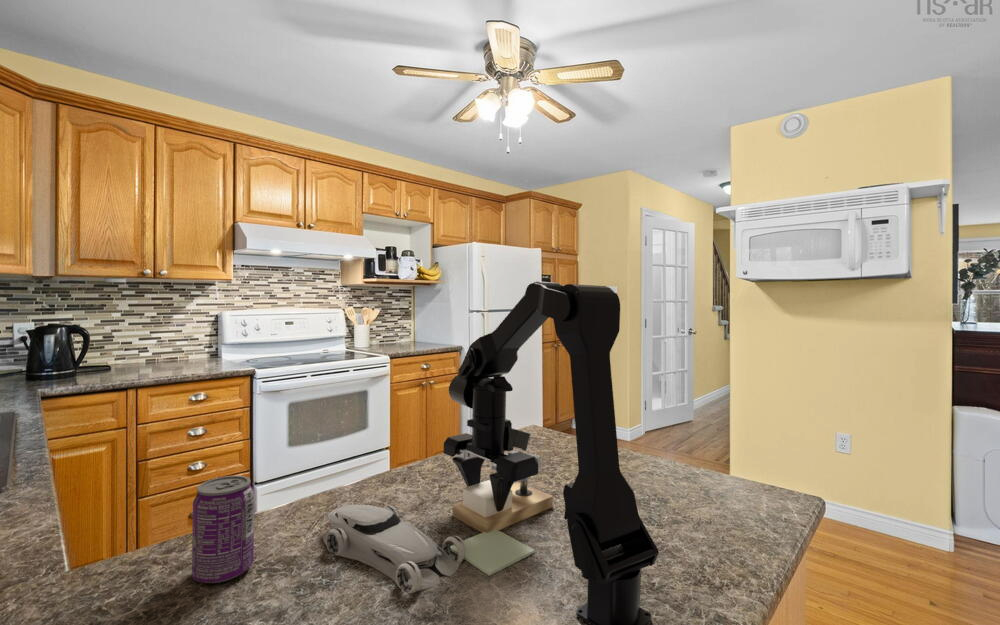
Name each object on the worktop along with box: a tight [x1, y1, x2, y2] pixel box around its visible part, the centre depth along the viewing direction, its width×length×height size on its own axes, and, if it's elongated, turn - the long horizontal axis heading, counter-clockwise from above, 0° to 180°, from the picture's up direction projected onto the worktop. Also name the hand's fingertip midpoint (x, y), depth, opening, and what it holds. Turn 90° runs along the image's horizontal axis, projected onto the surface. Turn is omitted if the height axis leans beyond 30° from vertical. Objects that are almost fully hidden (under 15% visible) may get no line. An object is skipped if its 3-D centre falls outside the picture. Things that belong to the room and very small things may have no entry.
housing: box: [452, 481, 554, 533], centre depth 82 cm, size 16×9×2 cm, turn 133°
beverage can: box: [191, 475, 255, 584], centre depth 62 cm, size 7×7×12 cm
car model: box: [322, 504, 466, 594], centre depth 69 cm, size 11×24×5 cm, turn 53°
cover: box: [462, 479, 512, 518], centre depth 79 cm, size 6×6×3 cm
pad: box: [450, 529, 535, 577], centre depth 69 cm, size 9×9×1 cm
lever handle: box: [491, 449, 542, 493], centre depth 86 cm, size 10×2×7 cm, turn 61°
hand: (487, 504), depth 79 cm, fingers closed on cover, 6 cm apart
